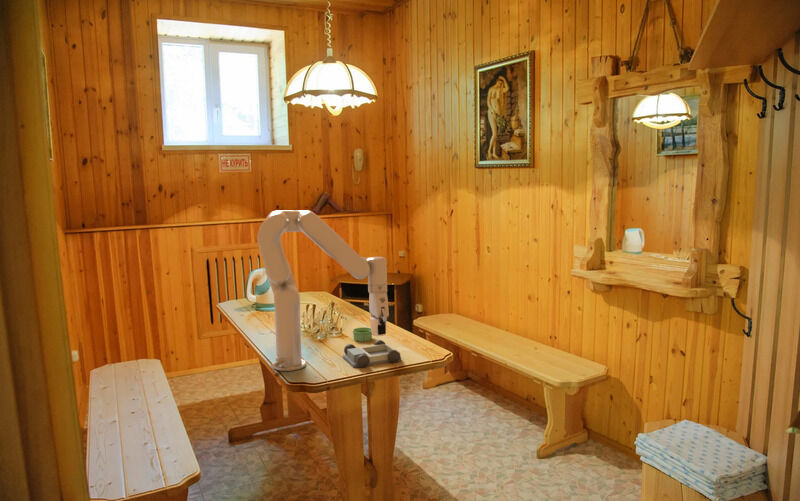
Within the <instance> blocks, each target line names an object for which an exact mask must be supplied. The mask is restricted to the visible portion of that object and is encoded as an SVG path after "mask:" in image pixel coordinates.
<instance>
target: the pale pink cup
mask: <svg viewBox="0 0 800 501" xmlns="http://www.w3.org/2000/svg"><path fill="white" fill-rule="evenodd" d="M380 317H382V315H380ZM381 319H382V318H381ZM381 319H380V321H381ZM387 320H388V319H387ZM387 320H386V323H387ZM369 321H370V322H369V323H370V328H371V332H372V337H373V336H374V337H384V336H385V335H387V333H386V334H382V335H378V325H379V323H378V318H377V317H375V316H372V317H371V316H370V317H369Z"/></svg>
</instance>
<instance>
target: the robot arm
mask: <svg viewBox="0 0 800 501" xmlns="http://www.w3.org/2000/svg"><path fill="white" fill-rule="evenodd" d="M291 232H292V233H293V232H294V233H295V232H296V233H300V232H301V233H303V234H304V235H305V236H306V237H307V238H308V239H309V240H311V241H312V242H313V243H314V244H315V245H316V246H317V247H319V248H320V249H321V250H322V251H323V252H324V253H325V254H327V255H328V256H329V257H330V258H332V259H333V260H334V261H335V262H337V264H339V265H340V266H341V267H342V268H343V269H344V270H346V271H347V272H348V273H349V274H350V275H351V276H352V277H353V278H355V279H357V280H364V279H366V278H367V290H368V291H367V292H368V294H369V297H368V298H369V299H368V300H369V301H368V303H369V305H368V309H369V313H370V317H372V316H375V317H377V318H378V323H379V325H378V335H382V334H386V335H387V322H386V320H388V317H389V316H390V313H389V301H388V300H389V299H388V298H389V297H388V270H387V267H388V266H387V265H388V262H387V258H386V257H384V256H371V257H364V256H363V257H362V256H361V255H359V254H358V253H357V252H356V251H355V250H354V249H353V248H352V247H351V246H350V245H349V244H348V243H347V242H346V241H345V239H344V238H343V237H341V236H340V235H339V233H337V232H336V231H335V230H334V229H333V228H332V227H331V226H330V225H328V224H327V223H326V222H325V221H324V220H323V219H322V218H321V217H319V215H318V214H316V213H315V212H313V211H312V210H308V209H307V210H282V209H281V210H273V211H271V212H269V213H268V214H267V216H266V218H265V219H264V221H262V223H261V225H260V226H259V228H258V232H257V239H256V240H257V246H258V248H259V253H260V256H261V260H262V263H263V266H264V270H265V275H266V278H267V279H268V283H269V285H270V289H271V290H272V293H273V304H274V328H275V345H276V346H275V348H276V356H275V361H273V362H272V363H270V367H271V369H274V370H277V371H283V372H292V371H296V370H300V369H303V368H304V367H306V366H307V361H306V360H305V359H303V358H302V333H301V332H302V329H301V327H302V326H301V296H300V293H299V290H298V287H297V285H296V281H295V277H294V274H293V272H292V268H291V265H290V262H289V261H288V260H287V258H286V257H287V256H286V254H285V250H284V248H283V247H284V246H283V244H282V236H283V234H284V233H291ZM380 315H381V316H382V317H380ZM381 318H382V319H381ZM380 319H381V321H380Z"/></svg>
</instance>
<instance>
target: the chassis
mask: <svg viewBox="0 0 800 501" xmlns="http://www.w3.org/2000/svg"><path fill="white" fill-rule="evenodd" d="M343 352H344V354H343V355H342V358H343V359H344V360H345V361H346V362H347V363H348V364H349V365H350V366H351V367H352V368H353V369H355V368H361V369H365V368H367V367H368V366H374V365H380V364H386V363H392V364H397V363H398V362H401V361H402V356H401V352H400V351H399V350H398V349H396V348H395V347H393V345H390V344H389V343H386V342H385V341H384V340H382V339H378V340H376V341H375V342H374V343H373V345H368V346H359V347H356V346H355V345H354V344H352V343H348V344H346V345H345V346H344V349H343Z"/></svg>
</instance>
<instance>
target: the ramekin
mask: <svg viewBox="0 0 800 501" xmlns="http://www.w3.org/2000/svg"><path fill="white" fill-rule="evenodd" d="M352 333H353V340H354V341H355V342H360V343H364V342H369V341H371V340H372V338H373V335H372V332H371V327H365V326H364V327H362V326H361V327H356V328H354V329H353V328H352Z"/></svg>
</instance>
